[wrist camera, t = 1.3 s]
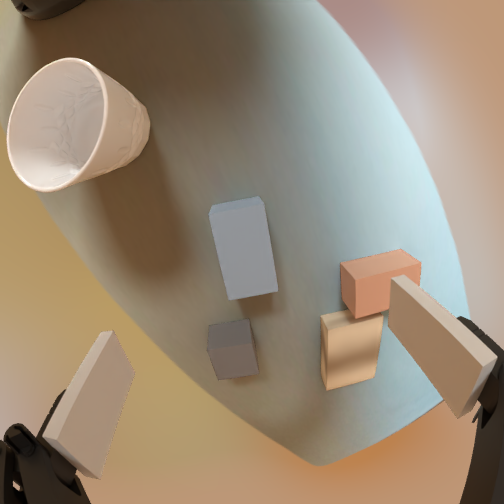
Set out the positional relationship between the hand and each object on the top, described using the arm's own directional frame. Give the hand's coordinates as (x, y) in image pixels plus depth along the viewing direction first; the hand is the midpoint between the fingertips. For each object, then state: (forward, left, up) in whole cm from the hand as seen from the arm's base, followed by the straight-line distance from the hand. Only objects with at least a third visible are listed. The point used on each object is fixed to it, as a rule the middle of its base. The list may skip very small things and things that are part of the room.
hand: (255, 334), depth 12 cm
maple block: (+14, +9, -14) cm, 21 cm away
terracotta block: (+6, +12, -14) cm, 19 cm away
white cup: (-12, -9, -14) cm, 20 cm away
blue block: (0, 0, -14) cm, 14 cm away
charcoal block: (+10, -3, -13) cm, 17 cm away
